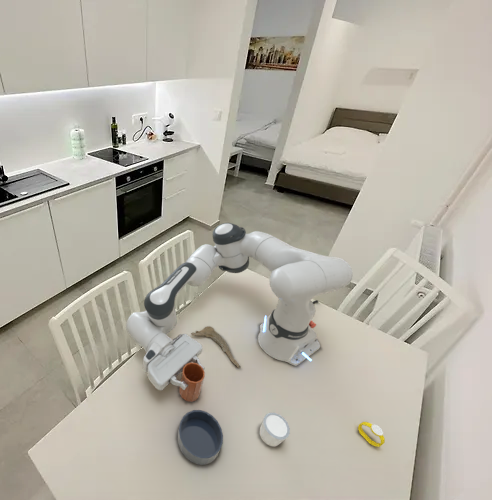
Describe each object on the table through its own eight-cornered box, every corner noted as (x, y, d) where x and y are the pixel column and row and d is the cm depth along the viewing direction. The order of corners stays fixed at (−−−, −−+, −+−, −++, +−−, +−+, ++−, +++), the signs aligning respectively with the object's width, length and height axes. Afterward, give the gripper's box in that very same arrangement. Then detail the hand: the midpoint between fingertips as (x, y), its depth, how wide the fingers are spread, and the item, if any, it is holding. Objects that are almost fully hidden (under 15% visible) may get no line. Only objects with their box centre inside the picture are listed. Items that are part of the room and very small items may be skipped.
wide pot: (205, 412, 87) (208, 403, 84) (227, 455, 78) (231, 447, 75) (170, 426, 84) (172, 418, 80) (189, 473, 75) (191, 466, 71)
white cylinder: (284, 452, 79) (292, 442, 75) (258, 446, 80) (265, 436, 76) (279, 425, 84) (287, 415, 80) (255, 420, 85) (261, 409, 81)
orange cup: (193, 380, 95) (197, 359, 88) (202, 398, 90) (208, 378, 83) (175, 386, 93) (179, 366, 86) (184, 405, 88) (189, 385, 81)
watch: (353, 430, 83) (362, 421, 80) (358, 425, 84) (368, 416, 81) (374, 451, 79) (385, 442, 76) (379, 446, 80) (391, 437, 77)
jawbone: (202, 323, 115) (203, 320, 113) (249, 354, 104) (251, 350, 103) (189, 336, 109) (190, 332, 107) (239, 370, 98) (240, 366, 97)
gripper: (182, 337, 101) (213, 363, 93) (139, 373, 90) (171, 407, 82) (183, 325, 97) (217, 352, 89) (139, 362, 86) (172, 396, 78)
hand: (194, 379), depth 85 cm, fingers closed on orange cup, 6 cm apart
